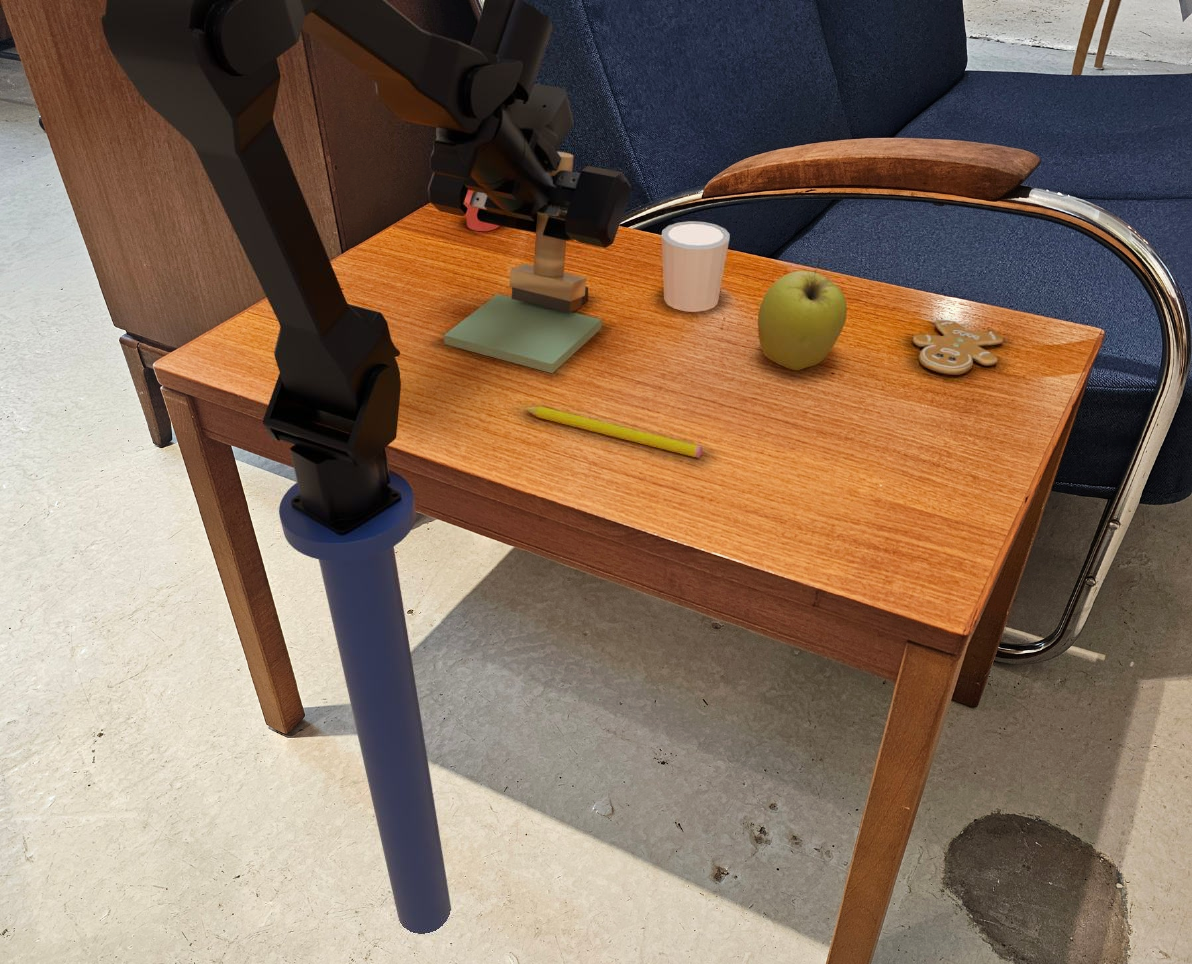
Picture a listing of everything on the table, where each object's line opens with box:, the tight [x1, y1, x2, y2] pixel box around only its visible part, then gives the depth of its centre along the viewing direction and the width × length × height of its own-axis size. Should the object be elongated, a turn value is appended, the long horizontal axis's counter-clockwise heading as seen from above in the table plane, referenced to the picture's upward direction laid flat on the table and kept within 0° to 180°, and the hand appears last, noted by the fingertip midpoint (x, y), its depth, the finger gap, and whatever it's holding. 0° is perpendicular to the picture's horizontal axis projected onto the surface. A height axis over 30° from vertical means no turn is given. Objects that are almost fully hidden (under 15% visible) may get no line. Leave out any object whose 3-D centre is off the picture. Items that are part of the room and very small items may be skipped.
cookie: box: [912, 319, 1005, 376], centre depth 101 cm, size 8×1×10 cm
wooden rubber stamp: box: [509, 151, 587, 313], centre depth 102 cm, size 3×7×14 cm, turn 63°
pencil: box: [524, 405, 703, 459], centre depth 90 cm, size 16×1×1 cm, turn 66°
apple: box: [757, 260, 848, 371], centre depth 97 cm, size 8×8×10 cm
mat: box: [443, 293, 603, 374], centre depth 103 cm, size 10×12×1 cm
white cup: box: [660, 220, 731, 313], centre depth 107 cm, size 7×7×7 cm
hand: (559, 232), depth 103 cm, fingers closed on wooden rubber stamp, 3 cm apart
